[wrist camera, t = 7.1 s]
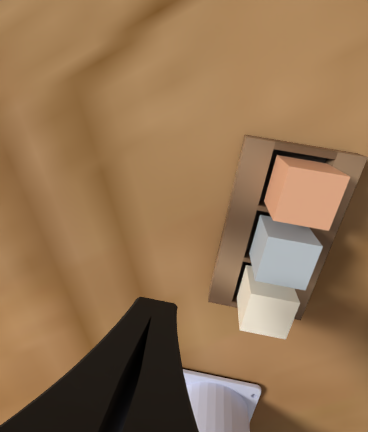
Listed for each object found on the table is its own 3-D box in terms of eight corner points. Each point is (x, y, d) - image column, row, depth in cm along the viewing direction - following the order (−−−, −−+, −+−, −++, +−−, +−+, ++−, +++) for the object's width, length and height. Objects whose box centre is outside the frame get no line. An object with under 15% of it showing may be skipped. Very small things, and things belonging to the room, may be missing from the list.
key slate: (292, 261, 18) (305, 290, 15) (249, 253, 18) (254, 280, 15) (305, 223, 17) (322, 246, 14) (260, 214, 17) (268, 236, 14)
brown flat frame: (296, 308, 21) (300, 320, 19) (208, 291, 21) (208, 301, 20) (357, 153, 16) (367, 157, 15) (244, 134, 16) (246, 137, 15)
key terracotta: (310, 209, 17) (328, 230, 14) (263, 201, 17) (273, 220, 14) (326, 163, 15) (350, 176, 13) (276, 155, 16) (289, 166, 13)
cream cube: (276, 305, 19) (285, 339, 17) (236, 297, 20) (239, 330, 17) (287, 273, 18) (300, 302, 16) (246, 265, 18) (250, 293, 16)
